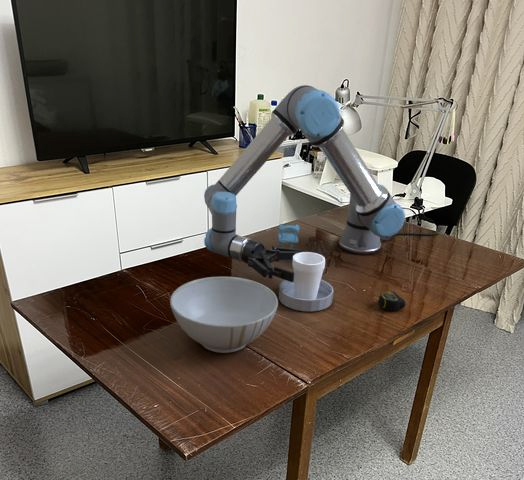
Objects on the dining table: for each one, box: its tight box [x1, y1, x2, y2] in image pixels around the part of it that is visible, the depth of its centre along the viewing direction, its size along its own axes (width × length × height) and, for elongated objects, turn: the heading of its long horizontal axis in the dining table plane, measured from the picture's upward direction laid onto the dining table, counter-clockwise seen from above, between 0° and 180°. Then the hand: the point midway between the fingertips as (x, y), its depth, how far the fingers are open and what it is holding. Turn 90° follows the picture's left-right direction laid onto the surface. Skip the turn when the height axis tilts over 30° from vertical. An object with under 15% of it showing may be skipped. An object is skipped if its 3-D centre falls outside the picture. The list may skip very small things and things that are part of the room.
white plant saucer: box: [278, 279, 335, 312], centre depth 164 cm, size 16×16×4 cm
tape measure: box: [378, 291, 407, 311], centre depth 162 cm, size 7×7×4 cm
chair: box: [277, 223, 300, 262], centre depth 190 cm, size 8×8×12 cm
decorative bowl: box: [169, 276, 279, 354], centre depth 140 cm, size 27×27×12 cm
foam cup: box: [291, 251, 326, 300], centre depth 161 cm, size 10×9×13 cm
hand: (306, 270), depth 160 cm, fingers open, 13 cm apart
